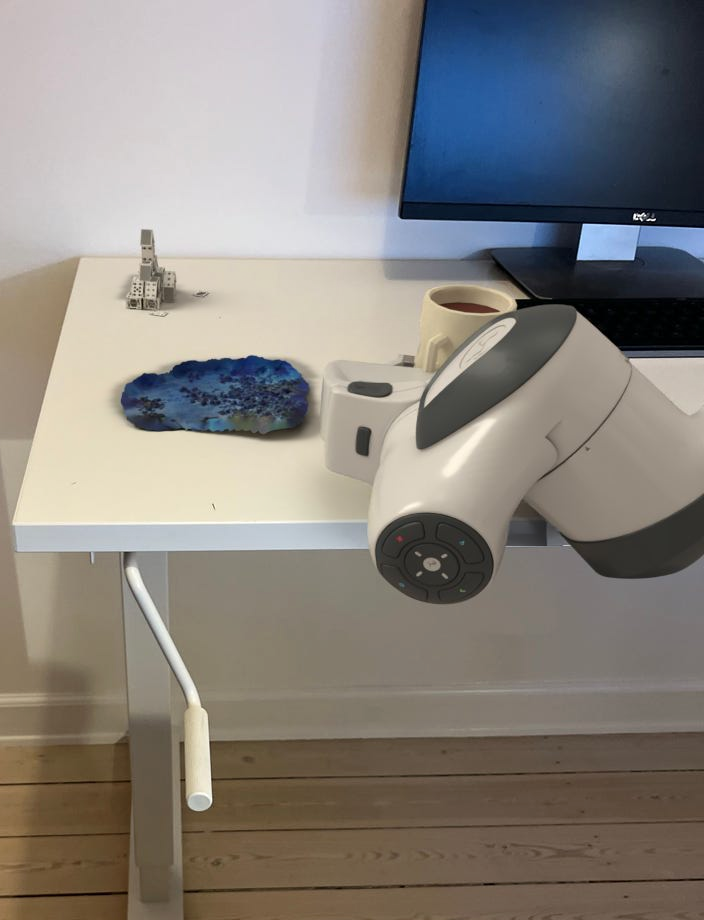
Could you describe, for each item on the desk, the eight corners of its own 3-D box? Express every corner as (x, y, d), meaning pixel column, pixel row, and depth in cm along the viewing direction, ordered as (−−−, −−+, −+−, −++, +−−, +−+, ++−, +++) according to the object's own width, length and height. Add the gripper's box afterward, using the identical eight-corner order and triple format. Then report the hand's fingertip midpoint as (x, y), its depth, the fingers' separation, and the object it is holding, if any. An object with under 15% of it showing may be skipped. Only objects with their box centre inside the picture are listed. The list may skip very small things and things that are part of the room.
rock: (307, 439, 86) (308, 418, 85) (113, 432, 87) (111, 411, 86) (310, 375, 98) (311, 356, 97) (138, 369, 99) (137, 350, 98)
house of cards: (199, 318, 109) (199, 246, 105) (121, 314, 110) (118, 242, 105) (209, 291, 116) (210, 223, 112) (136, 287, 117) (134, 219, 112)
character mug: (440, 419, 89) (464, 272, 81) (512, 443, 86) (545, 292, 78) (373, 461, 83) (392, 305, 75) (448, 489, 79) (476, 329, 71)
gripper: (612, 419, 66) (599, 344, 77) (309, 386, 70) (337, 318, 80) (589, 502, 70) (580, 419, 81) (303, 466, 74) (331, 392, 84)
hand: (457, 369), depth 81 cm, fingers closed on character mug, 7 cm apart
